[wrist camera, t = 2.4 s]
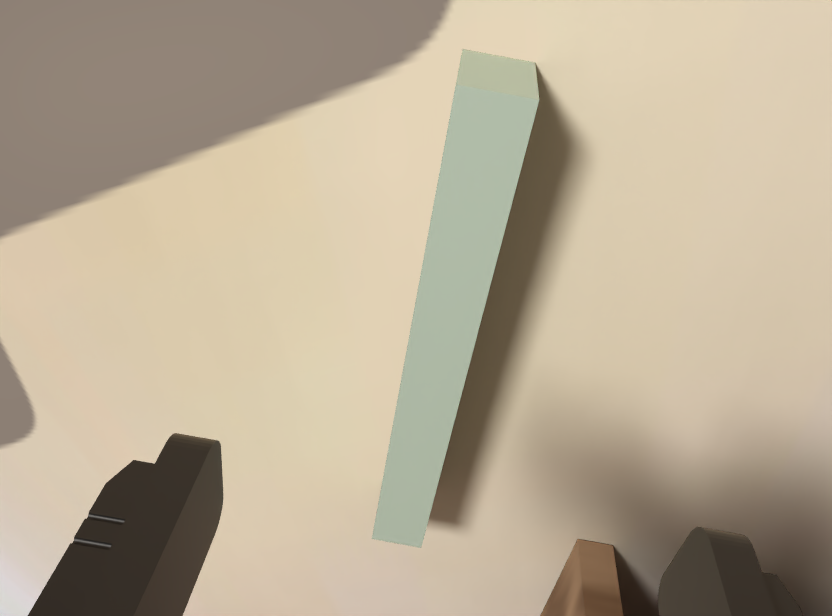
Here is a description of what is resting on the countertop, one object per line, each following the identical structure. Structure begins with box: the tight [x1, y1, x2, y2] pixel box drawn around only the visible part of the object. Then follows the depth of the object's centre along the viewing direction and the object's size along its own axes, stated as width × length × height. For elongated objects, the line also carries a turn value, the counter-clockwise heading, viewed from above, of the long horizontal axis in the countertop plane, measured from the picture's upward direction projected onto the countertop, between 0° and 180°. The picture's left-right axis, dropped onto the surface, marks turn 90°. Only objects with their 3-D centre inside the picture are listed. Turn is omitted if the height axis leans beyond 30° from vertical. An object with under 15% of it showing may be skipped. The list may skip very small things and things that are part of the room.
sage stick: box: [372, 49, 539, 548], centre depth 28 cm, size 23×2×4 cm, turn 171°
